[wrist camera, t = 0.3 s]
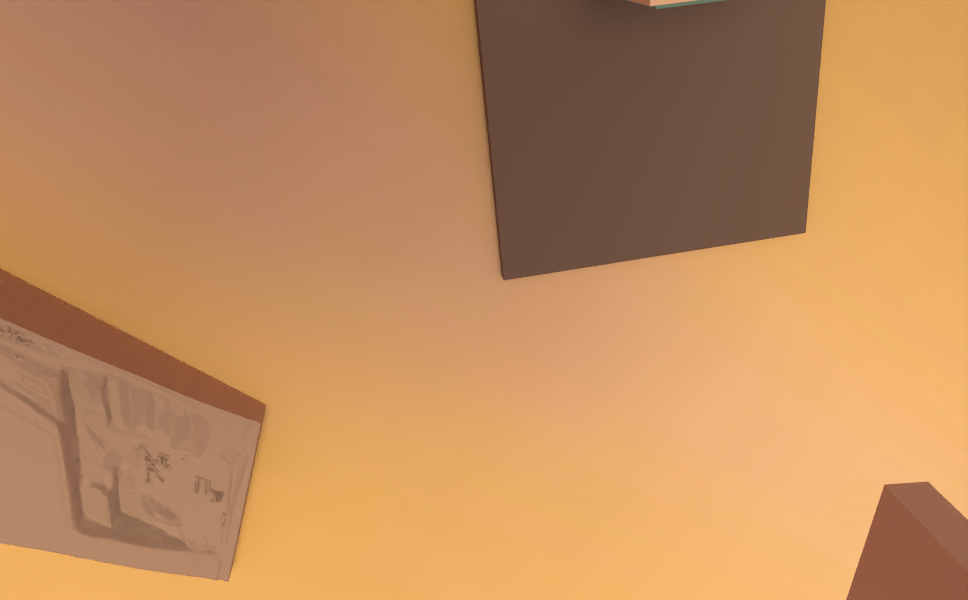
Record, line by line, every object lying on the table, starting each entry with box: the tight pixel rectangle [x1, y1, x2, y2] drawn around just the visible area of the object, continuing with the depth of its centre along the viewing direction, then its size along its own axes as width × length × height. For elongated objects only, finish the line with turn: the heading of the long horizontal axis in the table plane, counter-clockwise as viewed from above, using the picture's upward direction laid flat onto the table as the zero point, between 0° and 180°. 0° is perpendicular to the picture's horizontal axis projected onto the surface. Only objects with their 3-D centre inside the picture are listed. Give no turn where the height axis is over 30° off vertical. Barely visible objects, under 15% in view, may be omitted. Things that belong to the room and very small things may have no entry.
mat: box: [475, 0, 826, 280], centre depth 36 cm, size 20×16×1 cm
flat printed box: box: [0, 269, 266, 581], centre depth 37 cm, size 28×16×5 cm, turn 33°
